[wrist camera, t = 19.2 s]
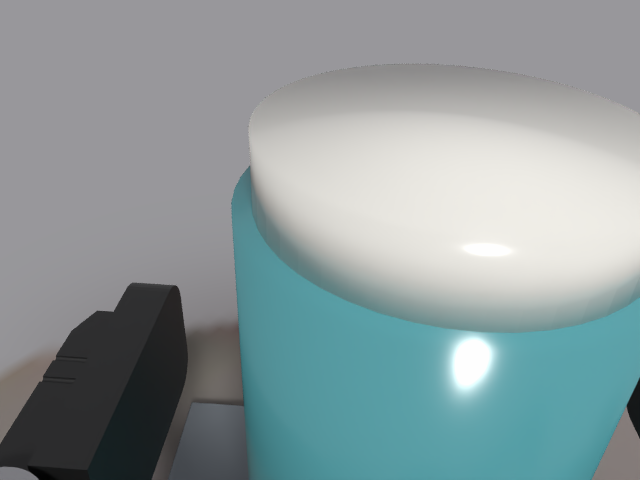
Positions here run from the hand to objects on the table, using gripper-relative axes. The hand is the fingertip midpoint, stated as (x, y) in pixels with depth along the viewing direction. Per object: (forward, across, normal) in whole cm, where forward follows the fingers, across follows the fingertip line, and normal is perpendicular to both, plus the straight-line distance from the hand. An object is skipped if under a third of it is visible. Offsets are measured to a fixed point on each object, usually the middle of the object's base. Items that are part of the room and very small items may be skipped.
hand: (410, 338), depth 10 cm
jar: (-1, 0, -9) cm, 9 cm away
